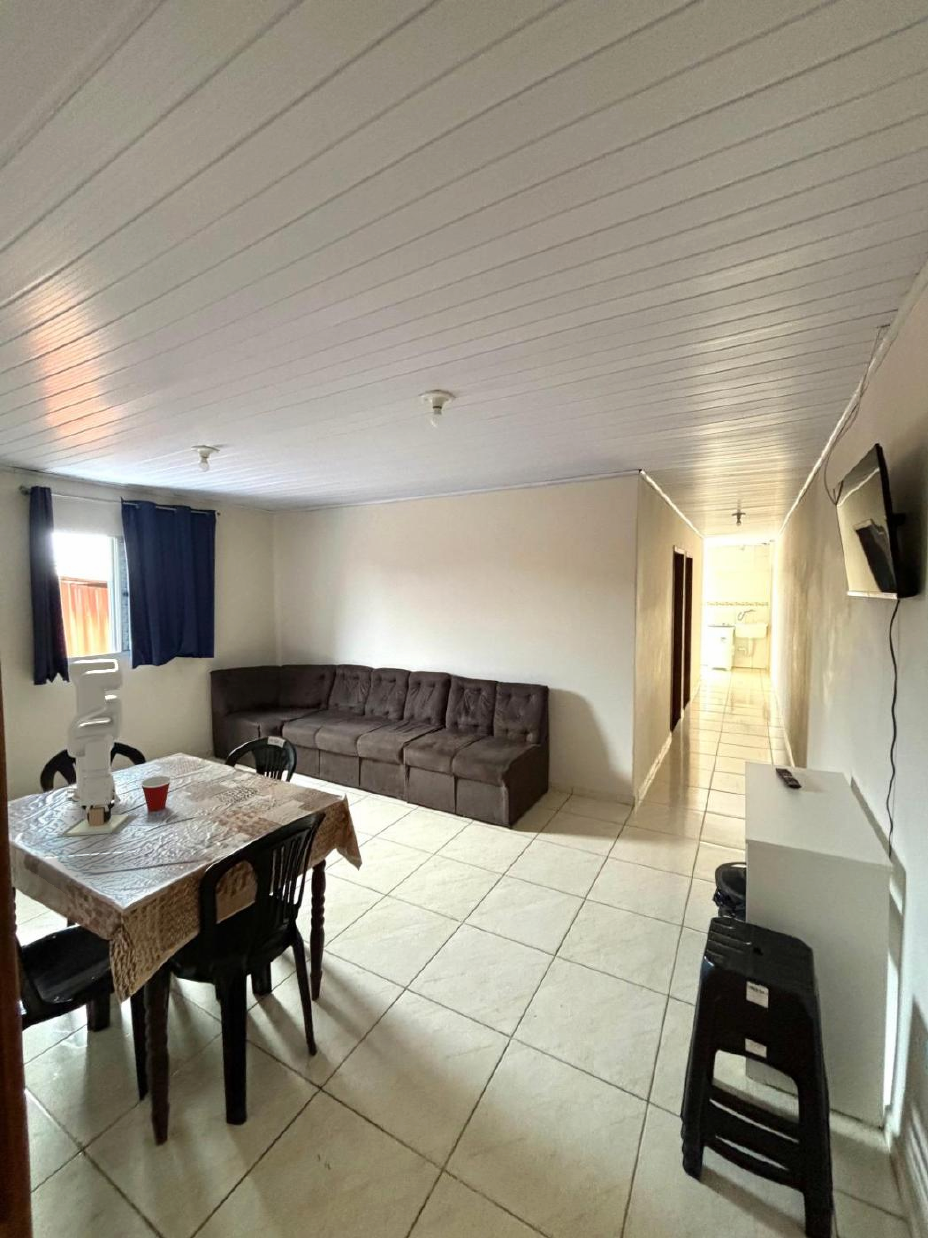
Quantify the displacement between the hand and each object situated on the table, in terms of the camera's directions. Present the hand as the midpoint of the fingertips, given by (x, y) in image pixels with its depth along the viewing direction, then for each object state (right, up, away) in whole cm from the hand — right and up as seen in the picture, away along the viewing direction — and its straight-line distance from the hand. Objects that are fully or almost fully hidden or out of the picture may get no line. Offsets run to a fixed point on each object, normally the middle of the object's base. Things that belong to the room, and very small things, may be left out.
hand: (99, 821), depth 189 cm
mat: (0, -2, 0) cm, 2 cm away
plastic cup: (+12, -2, +16) cm, 20 cm away
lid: (0, -2, 0) cm, 2 cm away
